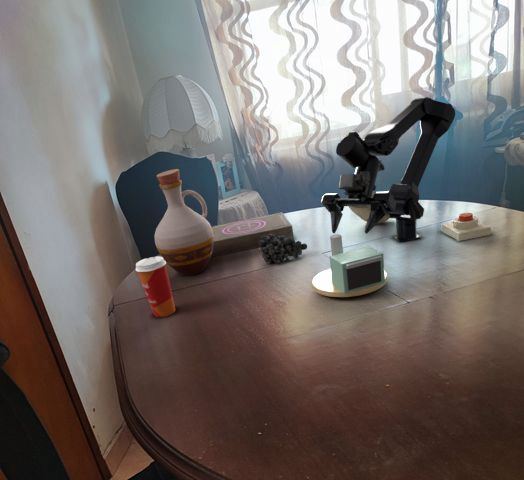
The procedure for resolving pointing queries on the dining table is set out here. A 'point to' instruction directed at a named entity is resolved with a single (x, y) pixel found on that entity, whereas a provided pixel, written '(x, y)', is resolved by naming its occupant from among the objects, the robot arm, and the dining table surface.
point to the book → (248, 233)
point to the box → (466, 229)
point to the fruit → (279, 248)
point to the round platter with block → (351, 271)
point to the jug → (183, 229)
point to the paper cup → (156, 285)
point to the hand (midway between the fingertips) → (349, 232)
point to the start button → (465, 217)
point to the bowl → (366, 212)
